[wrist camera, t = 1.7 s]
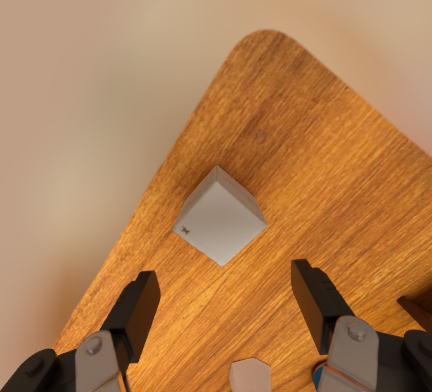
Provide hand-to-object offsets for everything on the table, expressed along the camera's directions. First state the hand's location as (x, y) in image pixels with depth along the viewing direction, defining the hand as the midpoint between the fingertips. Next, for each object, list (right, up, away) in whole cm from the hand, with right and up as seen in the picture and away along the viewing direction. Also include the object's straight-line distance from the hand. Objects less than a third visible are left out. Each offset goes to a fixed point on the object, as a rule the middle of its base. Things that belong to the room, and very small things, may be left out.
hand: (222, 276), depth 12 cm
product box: (0, +5, +12) cm, 13 cm away
